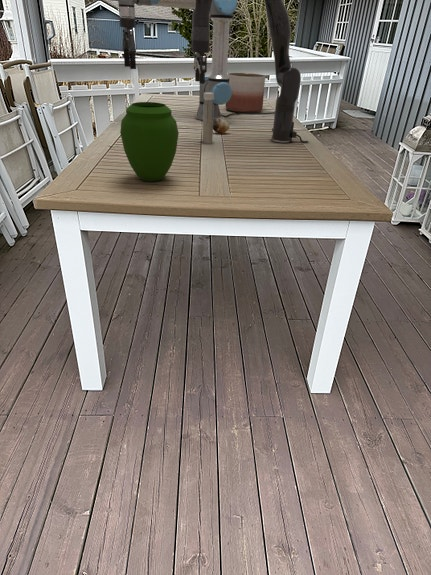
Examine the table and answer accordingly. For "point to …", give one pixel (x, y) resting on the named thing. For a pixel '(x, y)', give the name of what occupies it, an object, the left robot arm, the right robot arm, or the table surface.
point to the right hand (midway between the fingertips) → (199, 82)
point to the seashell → (220, 125)
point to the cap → (208, 96)
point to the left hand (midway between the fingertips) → (130, 67)
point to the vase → (149, 139)
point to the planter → (246, 92)
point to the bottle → (208, 121)
